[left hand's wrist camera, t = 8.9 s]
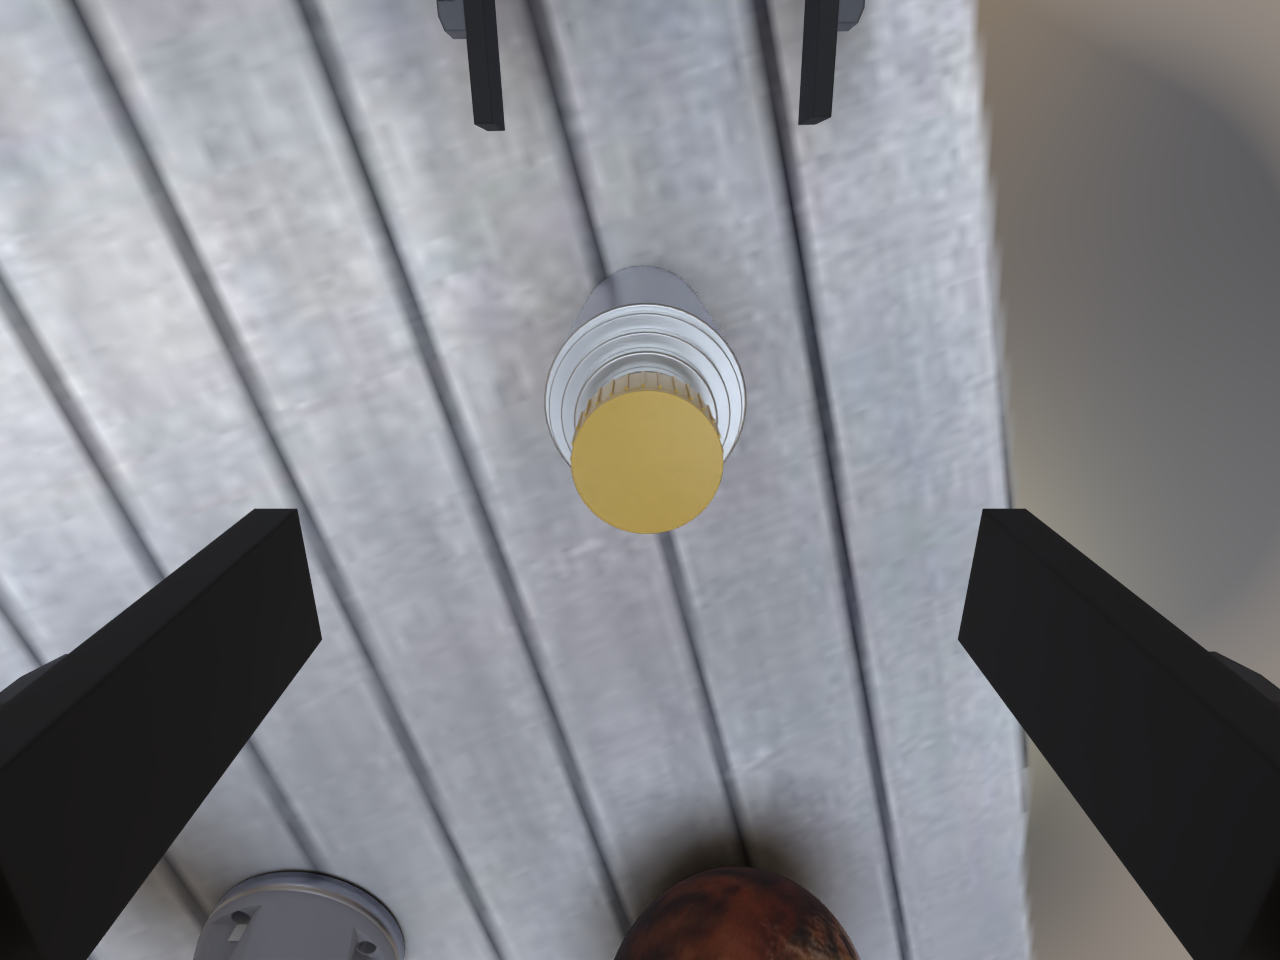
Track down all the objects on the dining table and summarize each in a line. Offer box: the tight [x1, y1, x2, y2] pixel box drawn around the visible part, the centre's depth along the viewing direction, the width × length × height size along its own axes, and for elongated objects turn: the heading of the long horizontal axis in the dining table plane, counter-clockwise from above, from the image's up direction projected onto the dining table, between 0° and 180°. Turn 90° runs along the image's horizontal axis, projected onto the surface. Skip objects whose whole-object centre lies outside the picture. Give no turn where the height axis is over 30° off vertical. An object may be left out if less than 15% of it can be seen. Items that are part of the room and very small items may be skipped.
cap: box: [570, 371, 724, 534], centre depth 20 cm, size 4×4×2 cm
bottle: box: [544, 266, 747, 467], centre depth 29 cm, size 7×7×22 cm
